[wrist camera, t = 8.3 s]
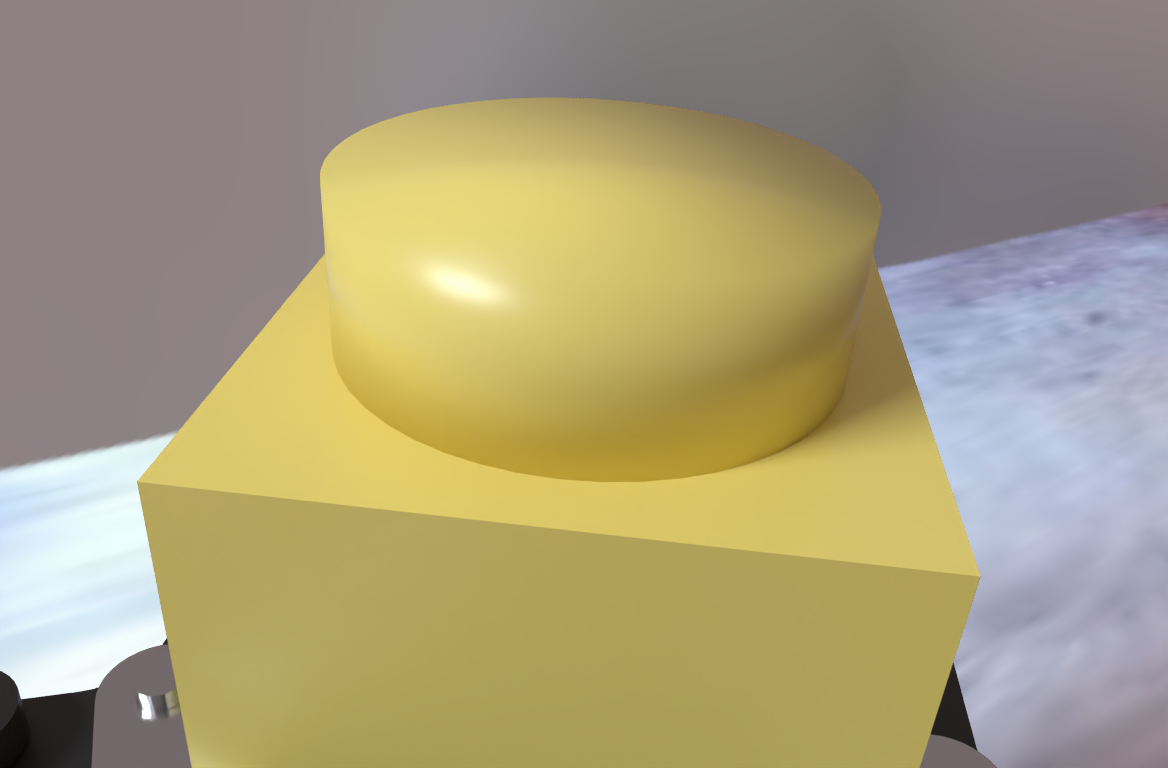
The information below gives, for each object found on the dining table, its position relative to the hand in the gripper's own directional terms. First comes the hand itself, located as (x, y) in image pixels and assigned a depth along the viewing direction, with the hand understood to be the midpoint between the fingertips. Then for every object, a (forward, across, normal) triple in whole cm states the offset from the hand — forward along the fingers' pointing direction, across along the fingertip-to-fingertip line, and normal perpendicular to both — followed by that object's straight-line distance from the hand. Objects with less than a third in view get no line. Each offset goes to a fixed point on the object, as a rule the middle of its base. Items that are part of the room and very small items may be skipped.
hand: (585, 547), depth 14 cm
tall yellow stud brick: (-2, 0, +6) cm, 7 cm away
